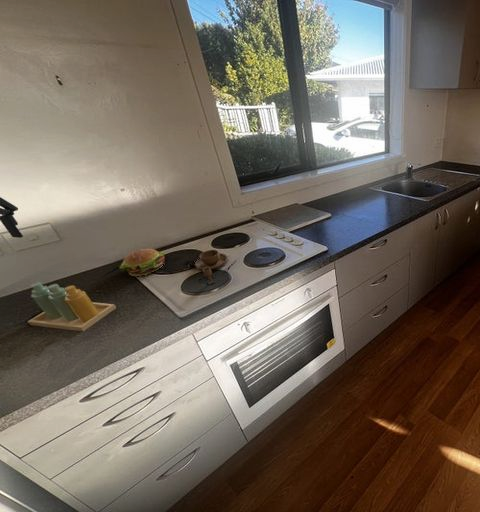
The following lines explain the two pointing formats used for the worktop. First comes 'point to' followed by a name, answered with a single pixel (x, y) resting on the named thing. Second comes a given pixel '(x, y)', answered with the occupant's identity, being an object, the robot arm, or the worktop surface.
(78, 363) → the worktop surface
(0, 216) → the robot arm
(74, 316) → the sage bottle
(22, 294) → the worktop surface
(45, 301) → the sage bottle
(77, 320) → the tray
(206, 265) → the place setting
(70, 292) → the mustard bottle
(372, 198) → the worktop surface
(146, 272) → the food
